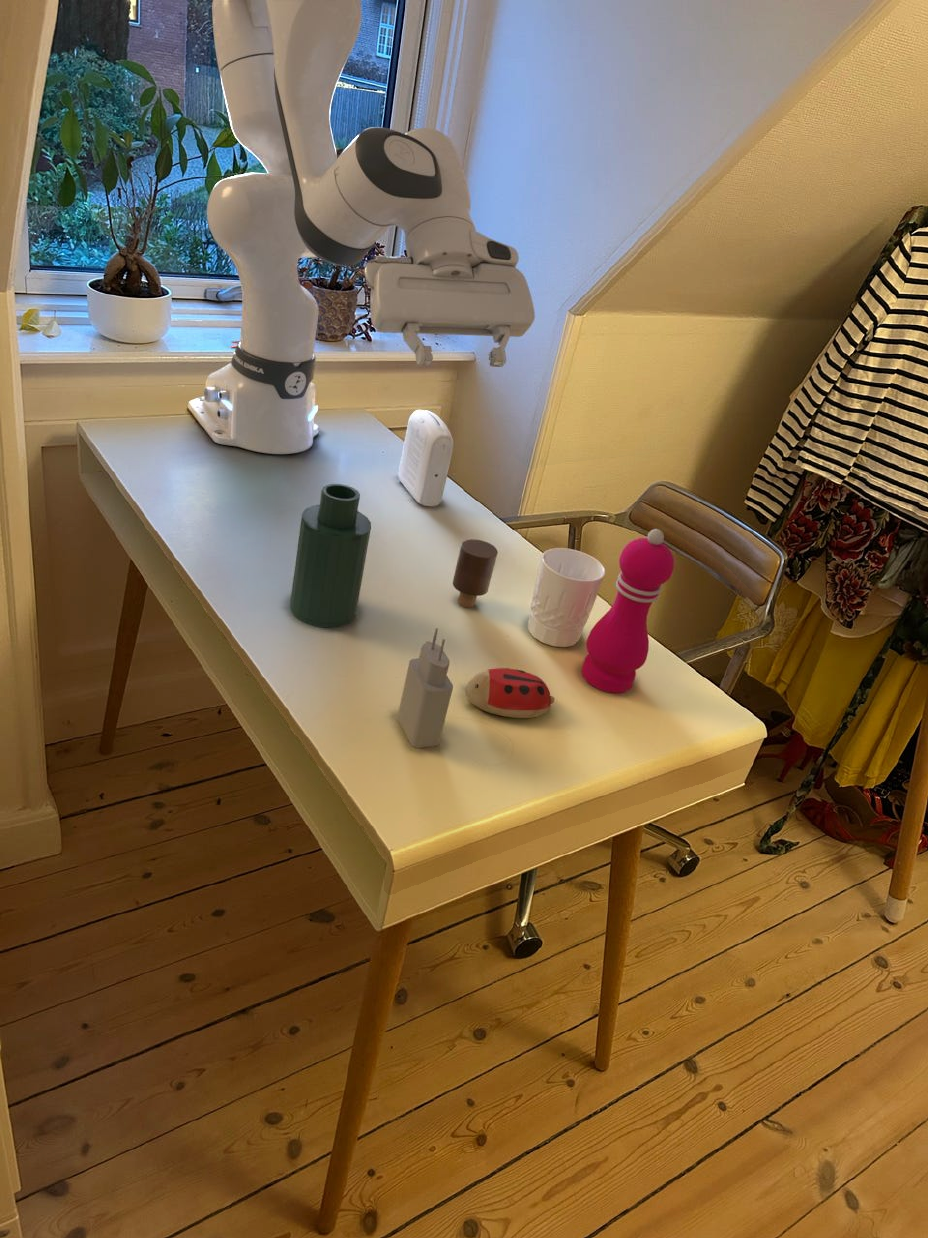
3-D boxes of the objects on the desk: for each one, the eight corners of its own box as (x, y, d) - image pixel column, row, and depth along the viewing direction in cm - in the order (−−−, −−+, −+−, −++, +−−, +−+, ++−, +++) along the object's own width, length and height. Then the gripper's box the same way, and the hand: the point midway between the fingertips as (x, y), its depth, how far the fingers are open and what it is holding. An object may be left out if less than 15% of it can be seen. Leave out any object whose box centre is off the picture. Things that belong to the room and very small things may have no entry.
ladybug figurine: (461, 680, 109) (467, 654, 107) (545, 690, 111) (553, 664, 109) (466, 717, 103) (473, 690, 101) (555, 727, 105) (564, 701, 103)
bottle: (277, 600, 115) (291, 481, 107) (331, 586, 120) (348, 472, 112) (314, 633, 111) (332, 513, 103) (368, 618, 116) (389, 502, 108)
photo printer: (444, 507, 146) (461, 430, 140) (418, 507, 144) (434, 429, 138) (418, 476, 154) (433, 402, 147) (393, 476, 152) (407, 401, 145)
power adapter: (422, 712, 102) (444, 617, 96) (441, 745, 98) (465, 648, 92) (395, 714, 101) (415, 618, 95) (413, 748, 97) (435, 650, 91)
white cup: (512, 616, 123) (531, 548, 118) (565, 614, 126) (585, 547, 121) (539, 652, 117) (560, 582, 112) (594, 648, 120) (617, 580, 115)
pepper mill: (634, 703, 112) (690, 553, 102) (574, 685, 113) (623, 534, 102) (637, 670, 118) (690, 525, 108) (580, 653, 119) (627, 508, 108)
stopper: (441, 597, 123) (453, 542, 119) (467, 590, 126) (480, 536, 122) (464, 616, 121) (478, 560, 117) (491, 608, 124) (505, 553, 120)
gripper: (368, 239, 112) (386, 348, 109) (529, 250, 119) (548, 352, 116) (356, 270, 117) (372, 375, 115) (509, 278, 125) (528, 377, 122)
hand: (462, 363), depth 116 cm, fingers open, 8 cm apart
